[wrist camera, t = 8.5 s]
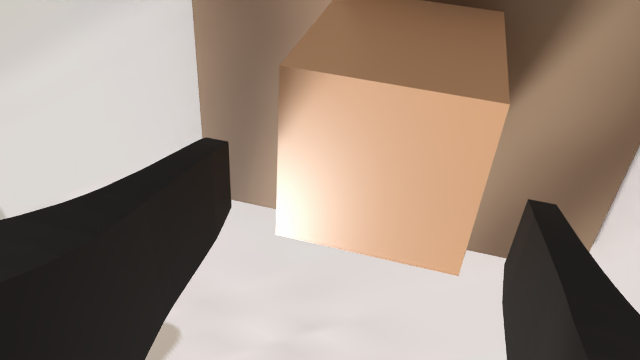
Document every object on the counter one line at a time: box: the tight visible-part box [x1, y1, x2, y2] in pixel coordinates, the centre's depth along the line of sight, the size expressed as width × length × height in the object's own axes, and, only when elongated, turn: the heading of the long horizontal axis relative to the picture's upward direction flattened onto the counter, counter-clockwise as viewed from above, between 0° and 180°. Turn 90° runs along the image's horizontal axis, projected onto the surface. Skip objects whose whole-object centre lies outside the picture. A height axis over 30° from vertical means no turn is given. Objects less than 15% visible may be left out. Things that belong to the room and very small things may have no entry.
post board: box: [192, 0, 640, 258], centre depth 18 cm, size 16×14×6 cm
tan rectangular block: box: [276, 0, 510, 276], centre depth 16 cm, size 5×5×7 cm
